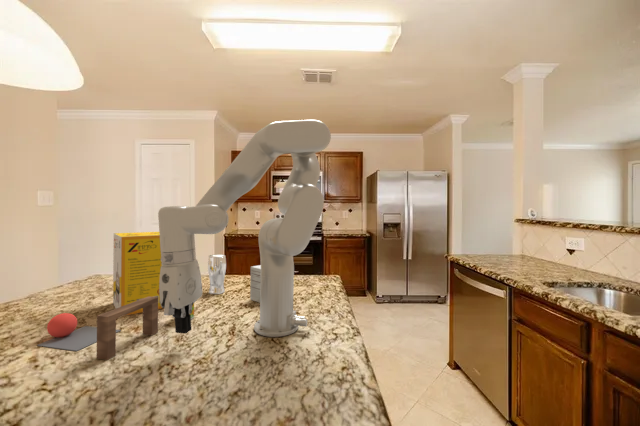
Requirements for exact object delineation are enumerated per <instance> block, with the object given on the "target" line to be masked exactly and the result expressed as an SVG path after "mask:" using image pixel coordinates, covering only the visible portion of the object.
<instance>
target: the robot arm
mask: <svg viewBox="0 0 640 426" xmlns="http://www.w3.org/2000/svg"><path fill="white" fill-rule="evenodd" d="M329 128H330V127H328V125H327V124H326V123H325V122H322V121H321V120H317V119H304V120H303V119H301V120H300V119H299V120H281V121H280V120H279V121H273V122H271V123H268V124H267V125H265V126H264V127H262V128H260V129H259V130H258V131H256V132H255V134H254V135H253V136H252V137H251V138H250V140H249V141H248V142H247V143H246V144H245V145H244V147H243V149H242V150H241V151H240V152H239V153H238V155H237V156H236V157H235V158H234V159H233V160H232V162H231V163H230V165H229V166H228V167H226V169H225V170H224V171H223V173H222V174H221V175H220V176H219V178H218V179H217V180H216V181H215V182H214V183H213V184H212V185H211V187H210V188H209V189H208V190H207V192H206V193H205V194H204V195H203V196H202V198H201V199H200V200H199V201H198V203H197V204H196V205H195V206H187V205H173V206H163V207H161V208H160V209H158V213H157V214H158V215H157V216H158V229H159V230H158V232H159V233H160V249H161V264H162V266H161V270H160V281H159V295H160V304H161V307H162V309H163V316H172V318H174V325H175V326H174V327H175V333H176V334H187V333H189V332H191V331H192V319H191V315H189V314H191V313H192V306H193V304H194V305H195V303H196V301H198V300H199V299H200V298H201V297H202V296H203V283H202V275H201V269H200V264H199V262H198V261H199V260H198V259H197V255H196V238H195V237H196V236H195V235H215V234H219V233H221V232H222V231H224V230H225V229H226V227H228V224H229V220H230V219H229V218H230V217H229V214H228V212H227V211H228V210H229V209H230V208H231V207H232V206H233V204H234V203H235V202H236V201H237V200H238V199H239V198H241V197H242V196H243V195H245V194H247V193H248V192H250V191H251V190H252V189H254V188H255V187H256V186H257V185H258V183H259V182H260V181H261V179H262V178H263V177H264V176H265V174H266V173H267V171H268V170H269V168H270V167H271V166H272V165H273V163H274V162H275V161H276V159H277V158H278V157H279V156H282V155H286V154H290V156H291V159H292V163H293V164H292V167H291V168H292V169H291V171H290V174H289V176H288V178H287V181H286V183H285V185H284V186H283V189H282V190H281V192H280V194H279V196H278V199H277V208H278V210H279V212H280V213H281V214H282V215H283V218H278V217H277V218H271V219H269V220H266V221H265V222H264V223H263V224H262V226H261V227H260V229H259V232H258V247H259V257H260V265H261V274H260V303H259V320H257V321H256V322H255V323H254V325H253V330H254V332H255V333H256V334H258V335H260V336H263V337H268V338H278V337H279V338H280V337H285V336H289V335H291V334H294V333H295V332H296V331H298V329H299V326H300V327H307V326H308V319H307V318H306V316H300V315H299V316H298V315H297V310H294V283H295V282H294V281H295V279H294V278H295V265H294V264H295V263H294V256H295V257H296V256H297V255H299V254H301V253H302V252H304V250H305V249H306V248H307V246H308V245H309V243H310V241H311V238H312V236H313V235H314V232H315V230H316V227H317V225H318V223H319V220H320V218H321V216H322V213H323V211H324V203H325V201H324V195H323V193H322V191H321V190H320V189H319V187H317V185H318V181H319V178H320V176H321V168H320V167H321V166H320V162H319V159H318V156H317V154H316V153H320V152H322V151H324V150H325V149H326V148H327V147H328V146H329V145H330V142H331V139H332V138H331V137H332V136H331V131H330V129H329Z"/></svg>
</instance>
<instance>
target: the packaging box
mask: <svg viewBox="0 0 640 426" xmlns="http://www.w3.org/2000/svg"><path fill="white" fill-rule="evenodd" d="M112 255H113V260H112V262H113V265H112V266H113V267H112V268H113V271H112V272H113V275H112V279H113V281H112V284H113V285H112V298H113V299H112V304H113V306H114V309H116V308H119V307H122V306H124V305H127V304H130V303H132V302H135V301H138V300H140V299H143V298H146V297H149V296H150V297H158V310H161V309H163V308H162V307H161V304H160V295H159V281H160V270H161V266H162V264H161V249H160V233H159V231H145V232H144V231H142V232H139V231H138V232H118V233H117V232H115V233H113V254H112ZM140 313H143V308H141V309H139V310H136V311H134V312H132V313H129V314H127V315H124V316H129V315H136V314H140ZM124 316H123V317H124Z"/></svg>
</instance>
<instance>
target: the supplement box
mask: <svg viewBox="0 0 640 426" xmlns="http://www.w3.org/2000/svg"><path fill="white" fill-rule="evenodd" d="M260 274H261V264H258V265H253V266H250V284H249V285H250V288H249V289H250V297H249V298H250V300H251V301H254V302H256V303H259V304H260Z"/></svg>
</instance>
